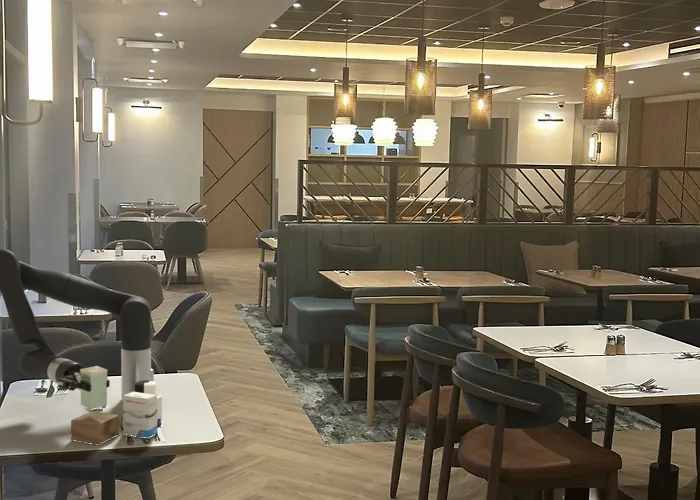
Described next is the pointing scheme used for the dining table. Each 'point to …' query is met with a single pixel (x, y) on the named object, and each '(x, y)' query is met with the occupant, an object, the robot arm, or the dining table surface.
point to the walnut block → (94, 427)
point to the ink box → (139, 414)
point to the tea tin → (94, 387)
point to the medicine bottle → (150, 388)
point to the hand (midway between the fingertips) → (99, 385)
